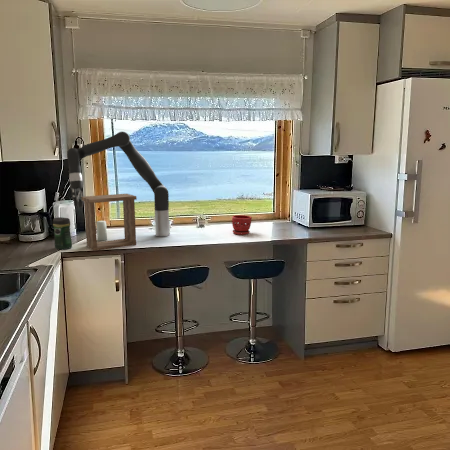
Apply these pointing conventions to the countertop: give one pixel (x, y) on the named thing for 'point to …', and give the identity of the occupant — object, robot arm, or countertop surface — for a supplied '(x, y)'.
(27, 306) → the countertop surface
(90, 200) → the on counter shelf
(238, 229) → the plant pot
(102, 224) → the white cylinder
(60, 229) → the coffee jar
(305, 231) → the countertop surface
